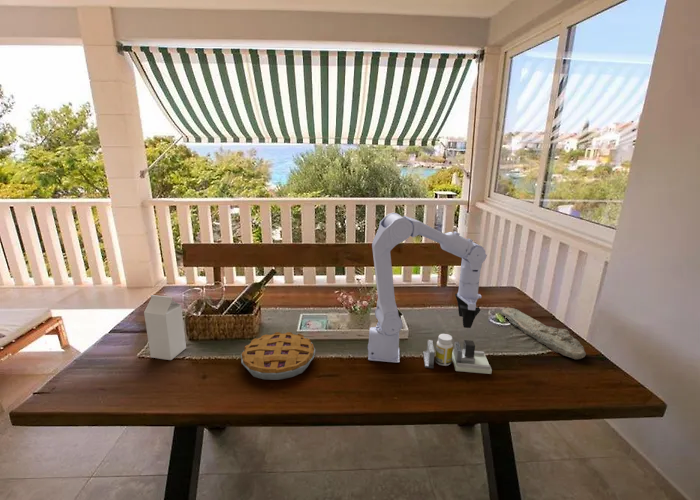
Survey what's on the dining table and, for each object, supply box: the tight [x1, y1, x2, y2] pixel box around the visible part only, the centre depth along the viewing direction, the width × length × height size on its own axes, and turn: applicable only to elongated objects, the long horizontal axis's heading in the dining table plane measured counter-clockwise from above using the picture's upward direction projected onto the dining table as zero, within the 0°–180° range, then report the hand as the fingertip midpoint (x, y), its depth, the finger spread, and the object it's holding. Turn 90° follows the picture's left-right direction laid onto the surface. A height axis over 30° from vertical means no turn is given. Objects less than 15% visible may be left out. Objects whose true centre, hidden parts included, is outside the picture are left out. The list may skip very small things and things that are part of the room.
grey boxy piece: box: [453, 339, 476, 364], centre depth 105 cm, size 5×6×6 cm
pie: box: [240, 331, 316, 381], centre depth 105 cm, size 22×22×5 cm
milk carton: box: [143, 294, 187, 361], centre depth 107 cm, size 7×7×19 cm
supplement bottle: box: [434, 333, 454, 367], centre depth 106 cm, size 5×5×8 cm
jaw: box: [422, 339, 436, 369], centre depth 107 cm, size 2×8×5 cm, turn 173°
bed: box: [452, 348, 493, 375], centre depth 106 cm, size 10×9×2 cm
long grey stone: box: [500, 307, 586, 360], centre depth 124 cm, size 35×5×10 cm
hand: (464, 321), depth 111 cm, fingers open, 7 cm apart
